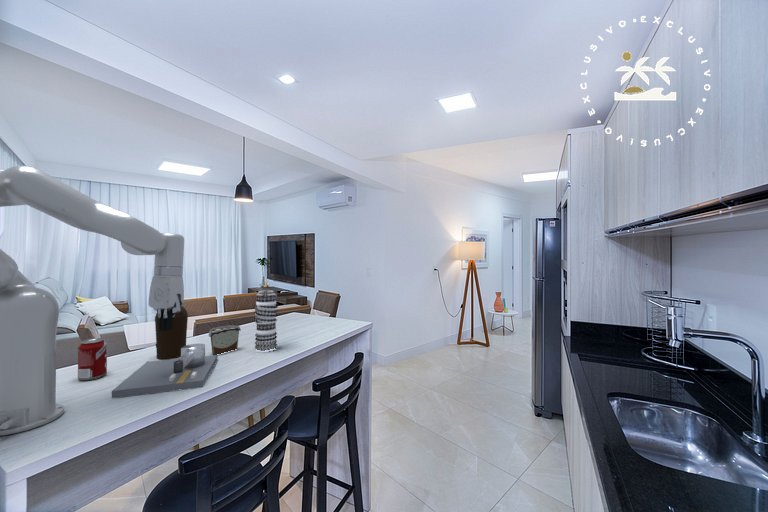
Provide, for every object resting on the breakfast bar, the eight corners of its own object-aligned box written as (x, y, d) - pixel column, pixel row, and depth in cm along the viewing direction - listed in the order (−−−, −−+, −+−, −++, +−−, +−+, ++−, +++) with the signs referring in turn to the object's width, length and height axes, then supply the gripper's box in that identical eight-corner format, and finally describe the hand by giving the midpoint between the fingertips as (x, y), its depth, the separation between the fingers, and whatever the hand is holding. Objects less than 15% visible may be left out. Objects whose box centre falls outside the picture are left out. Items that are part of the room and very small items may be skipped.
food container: (233, 346, 132) (233, 323, 132) (240, 349, 128) (240, 325, 128) (202, 354, 122) (202, 329, 122) (209, 357, 118) (210, 331, 118)
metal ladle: (184, 361, 106) (184, 344, 106) (207, 359, 108) (207, 342, 109) (162, 384, 88) (163, 363, 88) (190, 381, 90) (190, 360, 90)
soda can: (88, 382, 94) (89, 343, 94) (71, 380, 95) (72, 342, 95) (112, 374, 101) (112, 338, 101) (96, 372, 102) (96, 337, 102)
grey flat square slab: (202, 386, 91) (202, 376, 91) (111, 398, 84) (111, 387, 84) (217, 360, 115) (217, 352, 115) (147, 367, 107) (147, 358, 107)
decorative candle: (282, 348, 130) (282, 289, 130) (265, 354, 122) (266, 292, 122) (266, 345, 134) (266, 288, 134) (249, 351, 126) (249, 291, 126)
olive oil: (192, 350, 126) (192, 290, 126) (179, 359, 115) (180, 293, 116) (163, 352, 124) (164, 291, 124) (148, 361, 114) (149, 294, 114)
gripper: (140, 271, 96) (137, 330, 95) (173, 273, 91) (170, 334, 90) (164, 271, 103) (161, 325, 102) (196, 272, 98) (193, 330, 97)
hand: (165, 329), depth 96 cm, fingers closed
